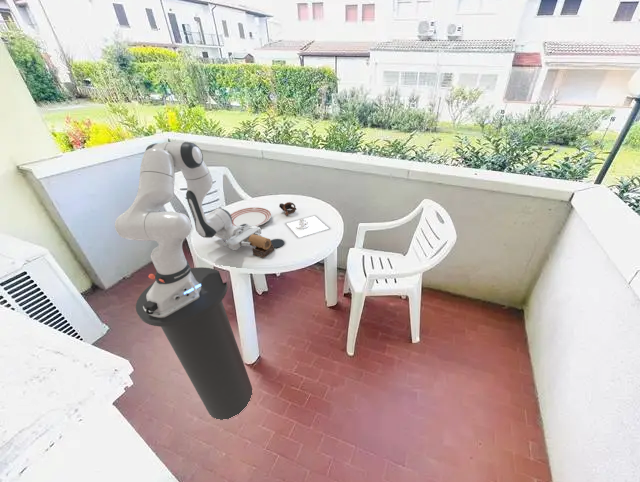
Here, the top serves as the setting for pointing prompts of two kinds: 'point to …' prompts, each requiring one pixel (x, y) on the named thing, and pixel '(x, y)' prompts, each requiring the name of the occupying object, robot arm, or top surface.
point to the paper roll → (260, 241)
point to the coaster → (277, 243)
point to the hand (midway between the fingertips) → (255, 240)
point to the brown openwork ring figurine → (288, 206)
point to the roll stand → (262, 251)
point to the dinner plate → (251, 216)
